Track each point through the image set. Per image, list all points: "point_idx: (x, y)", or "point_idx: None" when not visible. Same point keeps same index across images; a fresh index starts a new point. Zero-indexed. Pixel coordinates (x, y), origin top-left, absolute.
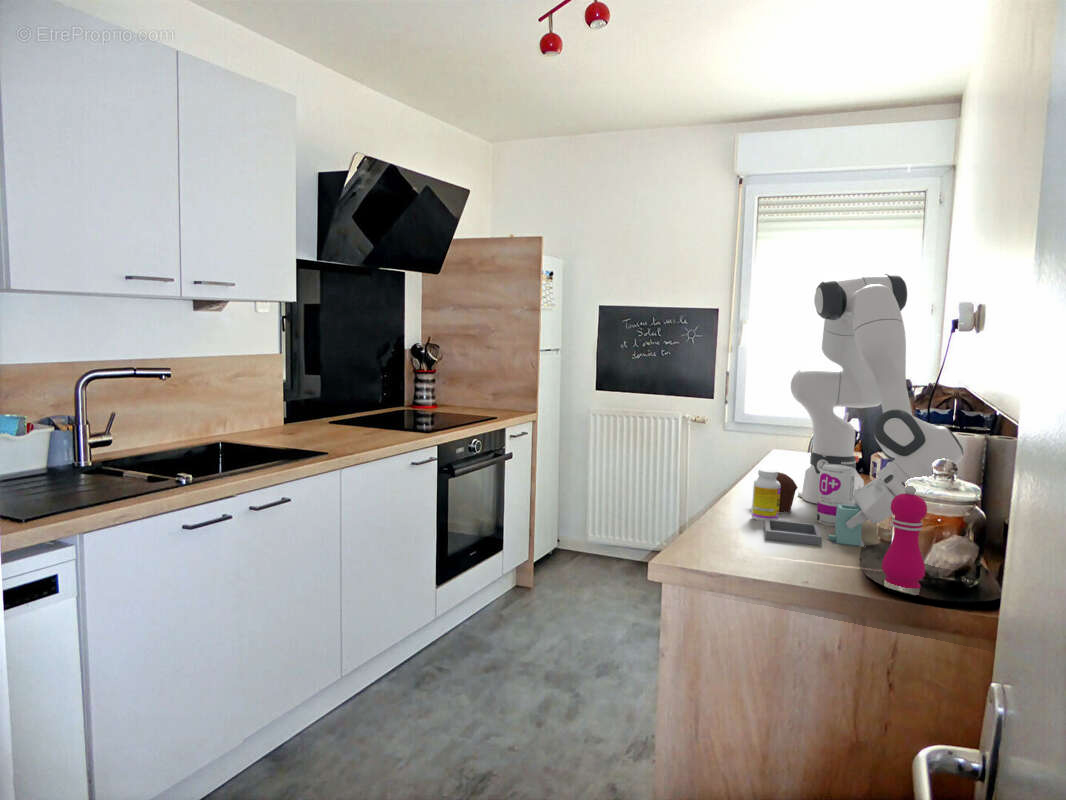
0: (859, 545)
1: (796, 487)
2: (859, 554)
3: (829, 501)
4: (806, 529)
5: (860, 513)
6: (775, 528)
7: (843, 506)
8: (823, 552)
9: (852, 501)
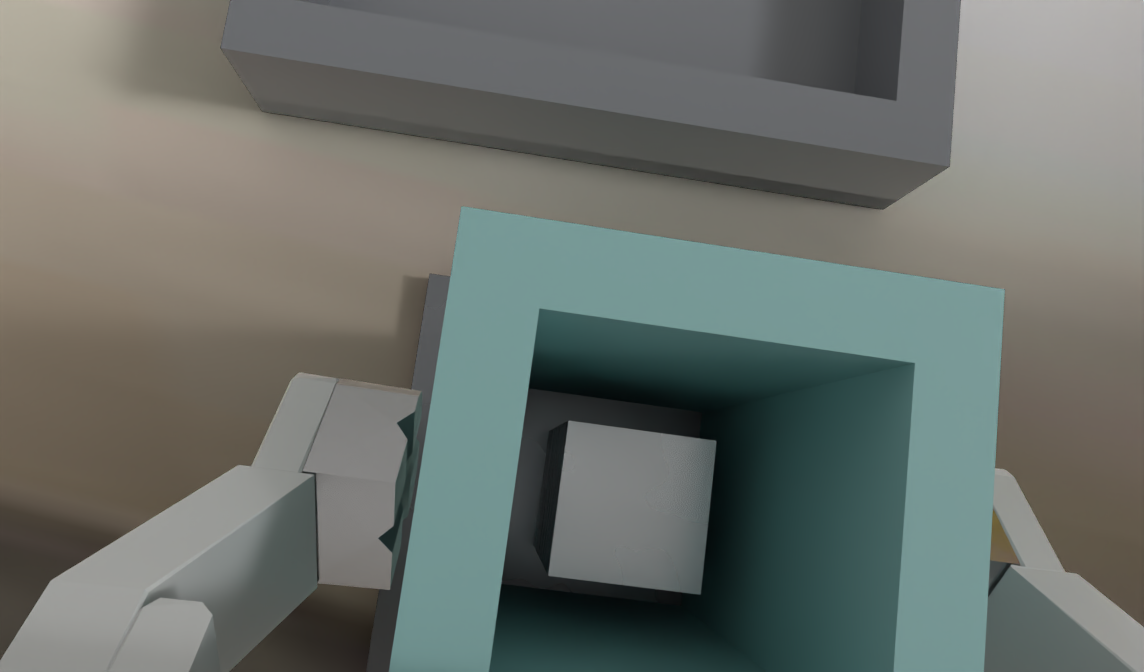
0: None
1: None
2: (79, 519)
3: None
4: (869, 55)
5: (14, 643)
6: None
7: (897, 425)
8: (63, 89)
9: None
